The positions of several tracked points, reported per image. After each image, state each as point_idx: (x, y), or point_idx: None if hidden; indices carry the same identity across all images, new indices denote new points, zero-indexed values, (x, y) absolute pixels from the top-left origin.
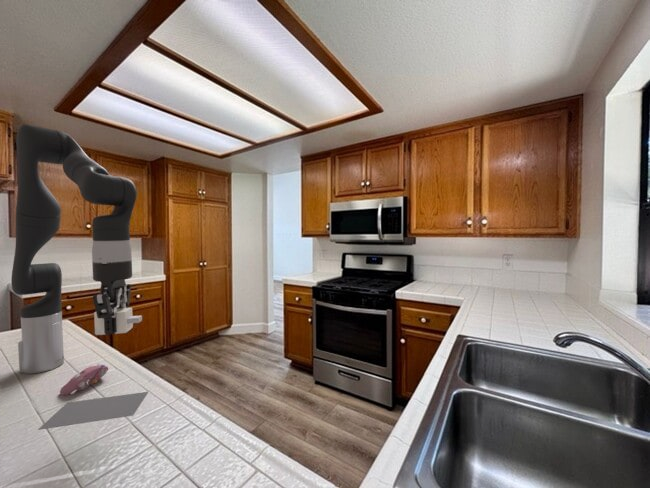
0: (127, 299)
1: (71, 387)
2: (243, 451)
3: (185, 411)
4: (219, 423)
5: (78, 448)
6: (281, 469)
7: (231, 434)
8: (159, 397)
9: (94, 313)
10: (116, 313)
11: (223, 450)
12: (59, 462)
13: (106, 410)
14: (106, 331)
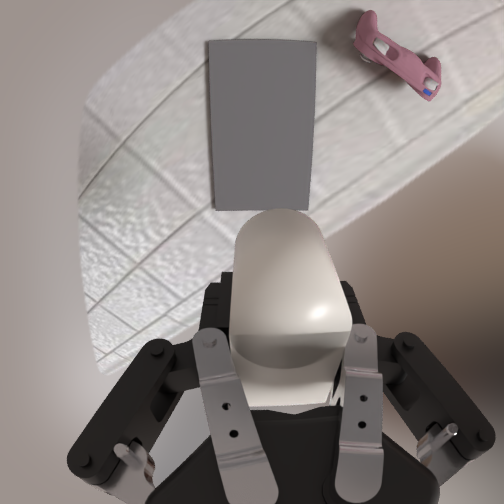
0: (396, 406)
1: (356, 37)
2: (127, 347)
3: None
4: (176, 329)
5: (139, 154)
6: (109, 366)
7: None
8: None
9: (251, 298)
10: None
11: (127, 333)
12: (111, 145)
13: (248, 148)
14: (209, 291)
